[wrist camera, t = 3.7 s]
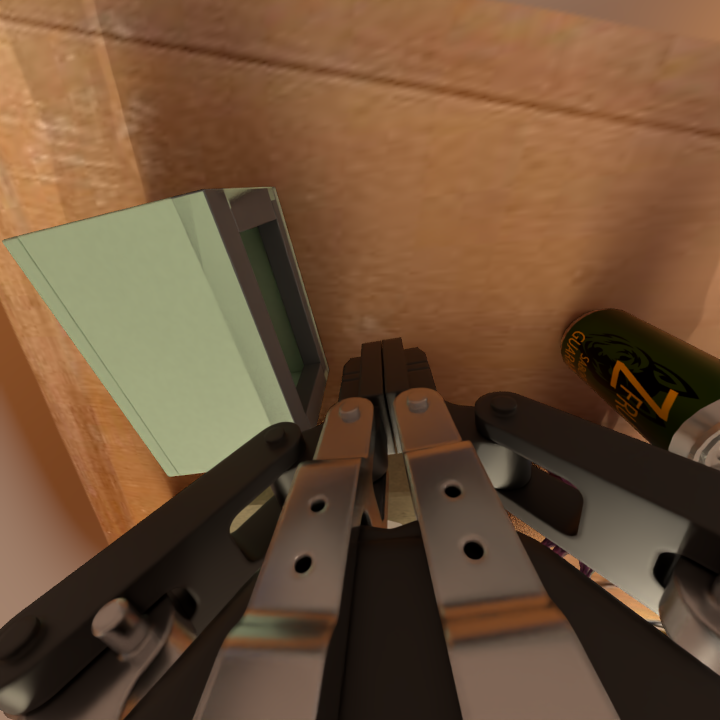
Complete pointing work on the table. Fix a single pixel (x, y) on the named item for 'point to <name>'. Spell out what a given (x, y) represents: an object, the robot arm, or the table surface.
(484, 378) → the table surface
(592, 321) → the beer can
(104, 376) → the pale green open box
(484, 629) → the robot arm
